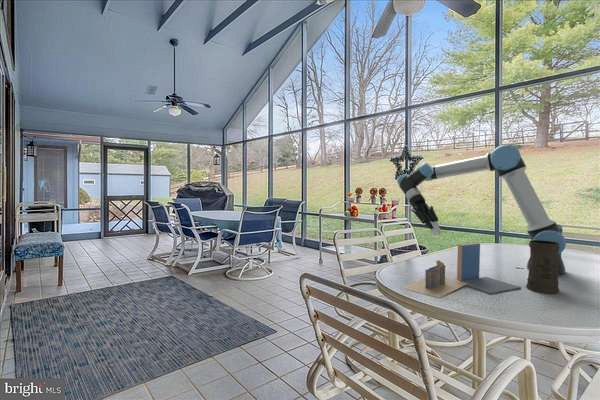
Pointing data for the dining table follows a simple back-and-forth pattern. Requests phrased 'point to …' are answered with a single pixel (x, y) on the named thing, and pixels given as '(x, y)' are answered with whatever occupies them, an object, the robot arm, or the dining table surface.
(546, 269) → the beer stein
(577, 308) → the dining table surface
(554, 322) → the dining table surface
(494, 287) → the mat
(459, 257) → the tile
